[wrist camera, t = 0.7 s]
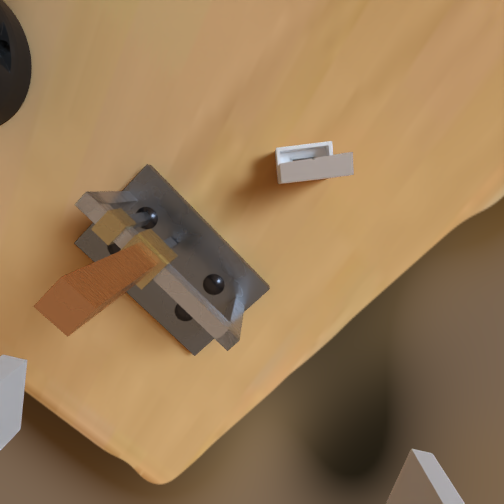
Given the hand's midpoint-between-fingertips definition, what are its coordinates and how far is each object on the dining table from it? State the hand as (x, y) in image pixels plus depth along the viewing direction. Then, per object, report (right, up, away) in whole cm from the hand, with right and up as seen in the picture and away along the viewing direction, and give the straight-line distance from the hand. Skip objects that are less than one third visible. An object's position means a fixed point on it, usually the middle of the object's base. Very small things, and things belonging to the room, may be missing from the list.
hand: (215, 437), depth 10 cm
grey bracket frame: (-7, +6, +26) cm, 27 cm away
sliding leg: (-8, +7, +25) cm, 27 cm away
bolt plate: (-8, +5, +27) cm, 29 cm away
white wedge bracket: (+7, +16, +25) cm, 30 cm away
